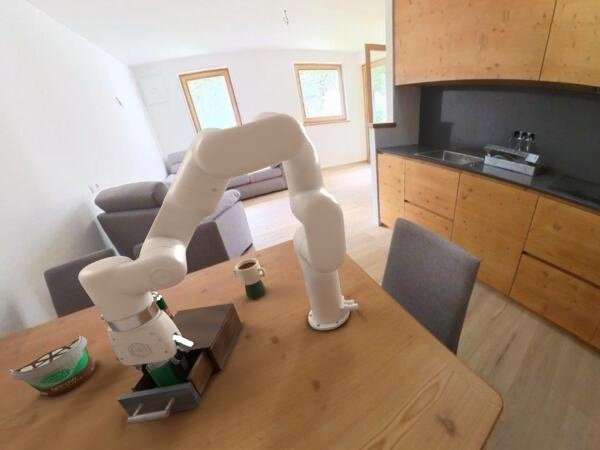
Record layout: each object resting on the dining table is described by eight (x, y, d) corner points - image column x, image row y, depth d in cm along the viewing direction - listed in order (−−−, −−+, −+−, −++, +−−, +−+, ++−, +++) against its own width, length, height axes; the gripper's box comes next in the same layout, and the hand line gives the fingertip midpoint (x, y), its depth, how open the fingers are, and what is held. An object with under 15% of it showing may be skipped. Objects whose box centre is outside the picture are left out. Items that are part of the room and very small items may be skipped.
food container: (39, 412, 64) (10, 384, 59) (33, 398, 67) (5, 371, 62) (109, 369, 73) (89, 343, 68) (102, 359, 76) (81, 333, 71)
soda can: (165, 334, 83) (147, 303, 78) (151, 332, 84) (133, 302, 79) (180, 322, 87) (164, 292, 82) (167, 320, 88) (150, 290, 83)
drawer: (191, 425, 59) (178, 405, 56) (119, 439, 57) (101, 420, 54) (225, 352, 75) (216, 334, 72) (170, 361, 73) (159, 343, 70)
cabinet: (221, 370, 71) (209, 346, 67) (158, 381, 69) (142, 357, 65) (242, 324, 85) (233, 302, 81) (189, 332, 83) (178, 310, 79)
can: (193, 374, 68) (179, 347, 64) (182, 394, 64) (166, 367, 60) (170, 378, 68) (154, 351, 64) (157, 399, 63) (139, 372, 59)
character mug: (276, 287, 101) (267, 257, 95) (267, 301, 94) (257, 269, 89) (247, 288, 101) (236, 258, 95) (236, 301, 95) (224, 270, 89)
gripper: (68, 335, 51) (115, 396, 59) (169, 321, 54) (202, 382, 62) (100, 307, 58) (139, 366, 66) (189, 296, 61) (216, 353, 68)
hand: (169, 373), depth 64 cm, fingers closed on can, 5 cm apart
